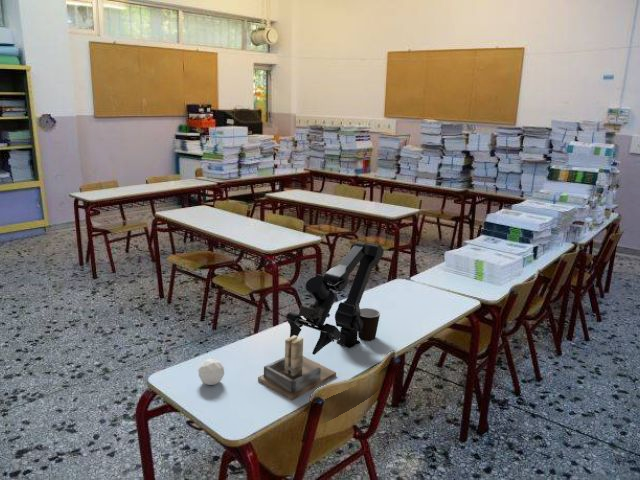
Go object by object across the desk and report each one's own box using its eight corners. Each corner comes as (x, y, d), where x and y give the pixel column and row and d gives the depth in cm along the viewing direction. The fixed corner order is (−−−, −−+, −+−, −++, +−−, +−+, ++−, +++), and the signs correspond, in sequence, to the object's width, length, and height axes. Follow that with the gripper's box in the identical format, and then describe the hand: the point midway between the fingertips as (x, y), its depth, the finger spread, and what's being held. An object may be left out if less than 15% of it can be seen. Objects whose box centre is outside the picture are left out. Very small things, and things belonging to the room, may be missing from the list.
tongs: (293, 372, 163) (294, 334, 160) (302, 375, 161) (303, 338, 158) (284, 378, 159) (285, 340, 156) (293, 382, 157) (294, 343, 154)
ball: (210, 394, 156) (200, 383, 150) (200, 375, 161) (190, 364, 155) (232, 379, 158) (222, 368, 152) (221, 361, 163) (211, 349, 157)
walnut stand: (302, 359, 174) (303, 346, 173) (336, 375, 164) (336, 362, 163) (257, 380, 160) (258, 367, 159) (291, 400, 150) (292, 385, 149)
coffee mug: (377, 343, 188) (378, 318, 185) (353, 340, 189) (355, 315, 187) (379, 330, 199) (381, 306, 196) (357, 327, 200) (359, 304, 198)
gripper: (289, 288, 166) (267, 331, 160) (337, 302, 156) (315, 348, 150) (302, 303, 175) (282, 345, 169) (349, 318, 165) (329, 362, 159)
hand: (301, 349), depth 162 cm, fingers open, 9 cm apart
